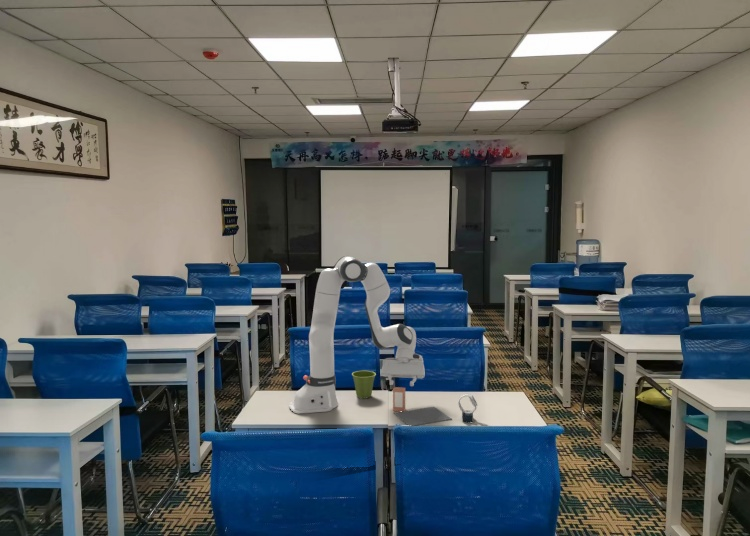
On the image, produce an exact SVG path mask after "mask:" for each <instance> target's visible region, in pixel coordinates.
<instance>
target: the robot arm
mask: <svg viewBox="0 0 750 536" xmlns="http://www.w3.org/2000/svg"><path fill="white" fill-rule="evenodd" d="M318 276H319V277H318V280H317V283H316V288H315V295H314V300H313V301H314V302H313V307H312V308H313V309H312V310H313V311H312V318H311V323H310V324H311V325H310V329H309V333H308V346H309V347H308V348H309V366H310V367H309V369H310V372H309V373H310V374H309V376H308V375H306V374H305V375H304V376H303V378H302V379H303V380H304V381H305V384H304V385H303V386H302V387H301V388H300V389H298V390H297V391H296V392H295V393H294V394H295V395H294V399H293V401H290V403H289V404H288V405H289V406H288V407H289V410H290V409H291V410H290V411H291V412H292V411H293V412H292V413H295V414H296V415H297V414H309V413H323V412H331V411H332V410H333V409H334V408H337V406H339V401H338V399H337V394H336V384H337V383H336V381H337V379H336V374H335V352H334V351H335V348H334V347H335V346H334V344H335V343H334V342H335V341H334V340H335V339H334V333H335V326H336V322H337V321H336V320H337V315H338V308H339V302H340V295H341V287H342V285H343V283H344V282H345V281H346V282H350V283H356V282H361V284H362V285H363V288H364V291H365V293H366V299H365V302H364V307H365V312H366V317H367V320H368V324H369V328H370V332H371V340H372V343H373V345H374V346H375V347H376V348H378V350H385V349H387V348H390V347H395V346H396V347H397V348H396V354H395V357H386V358H384V359H383V360H382V367H381V375H382V376H383V377H387V378H388V380H389V385H390V386H393V385H394V380H393V379H392V378H404V379H405V378H408V379H412V380H410V382H409V386H410V387H414V385H415V384H414V383H415V382H417V379H424V378H425V374H426V373H425V371H426V369H425V365H424V358H423V355H421V354H418V353H416V352H415V349H416V344H417V334H416V333H417V332H416V330H415V329H414V328H413V327H411V326H407V325H405V324H403V323H397V324H393V325H389V326H386V327H383V326H382V325H381V321H380V316H379V314H378V310H379V308H380V307H381V306H382V305H383V304H385V303H386V302H387V300H388V299H389V297H390V295H391V289H390V285H389V282H388V281H387V278H386V276H385V274H384V273H383V271H382V269H381V268H380V266H379V265H378V264H377V262H376V263H375V262H369V263H363V262H362V261H360V260H358V259H357V258H356V257H354V256H349V255H346V256H342V257H340V258H339V259H338V261H336V263H335V264H334V266H333V267H332V268H325V269H323V270H322V271H321V272H320V274H319V275H318Z"/></svg>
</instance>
